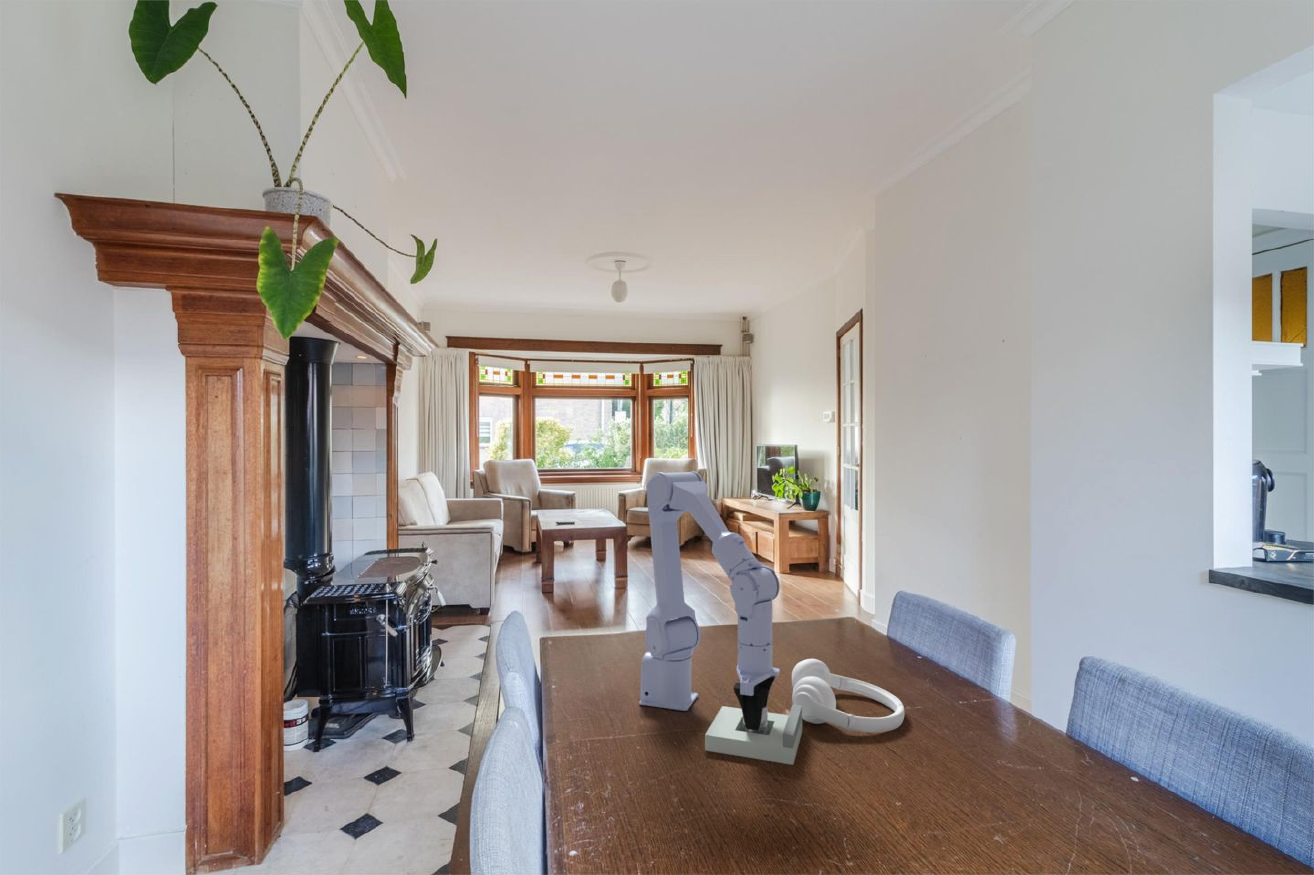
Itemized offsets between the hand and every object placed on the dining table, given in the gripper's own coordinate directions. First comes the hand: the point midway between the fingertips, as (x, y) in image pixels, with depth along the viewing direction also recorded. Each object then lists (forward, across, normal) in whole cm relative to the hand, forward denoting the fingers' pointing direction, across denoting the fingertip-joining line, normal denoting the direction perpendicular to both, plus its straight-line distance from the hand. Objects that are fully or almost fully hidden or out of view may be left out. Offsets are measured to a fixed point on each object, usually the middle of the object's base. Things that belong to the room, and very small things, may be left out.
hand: (755, 723), depth 105 cm
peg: (+2, 0, 0) cm, 2 cm away
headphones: (+3, +17, -14) cm, 22 cm away
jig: (+3, 0, 0) cm, 3 cm away
